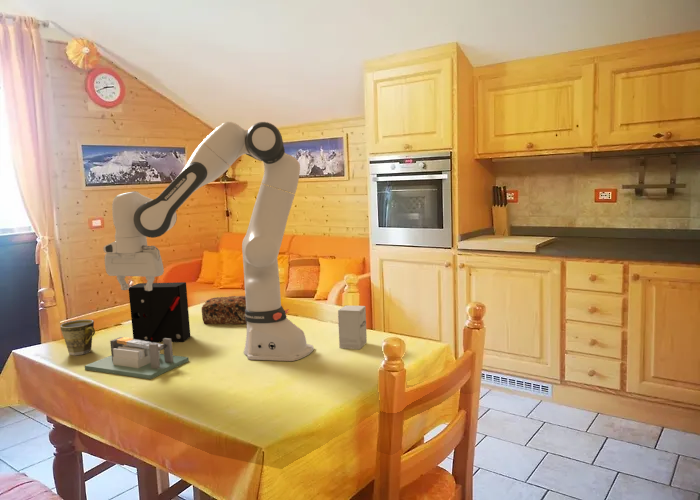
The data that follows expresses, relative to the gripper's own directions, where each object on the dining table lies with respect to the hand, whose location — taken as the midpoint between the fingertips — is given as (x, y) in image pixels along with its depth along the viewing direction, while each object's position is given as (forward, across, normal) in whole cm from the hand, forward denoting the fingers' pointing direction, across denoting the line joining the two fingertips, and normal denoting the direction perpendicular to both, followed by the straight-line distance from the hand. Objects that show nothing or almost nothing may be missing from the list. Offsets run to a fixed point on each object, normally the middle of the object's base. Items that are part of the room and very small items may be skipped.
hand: (136, 290), depth 165 cm
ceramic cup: (+22, +27, 0) cm, 35 cm away
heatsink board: (+22, -1, +4) cm, 23 cm away
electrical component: (+23, +11, -20) cm, 32 cm away
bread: (+23, +2, -48) cm, 53 cm away
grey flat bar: (+16, -3, +4) cm, 17 cm away
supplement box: (+24, -58, -32) cm, 70 cm away
